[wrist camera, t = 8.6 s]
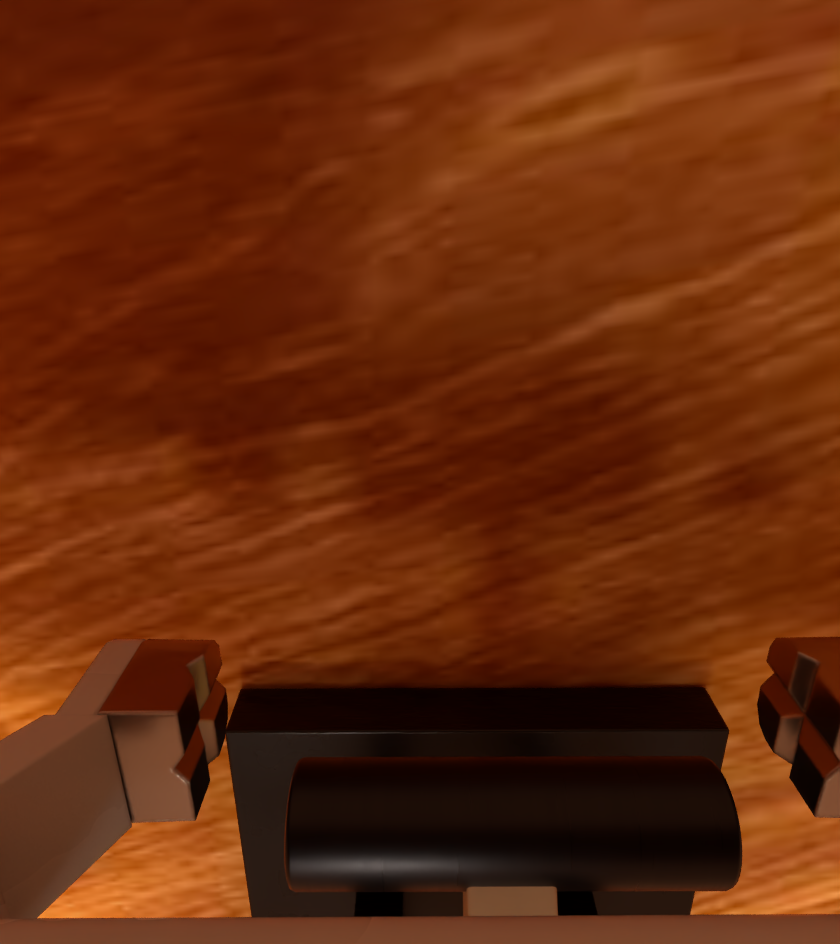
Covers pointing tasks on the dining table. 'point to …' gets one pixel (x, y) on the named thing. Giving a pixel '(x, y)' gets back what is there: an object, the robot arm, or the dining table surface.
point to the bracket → (444, 735)
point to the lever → (510, 827)
